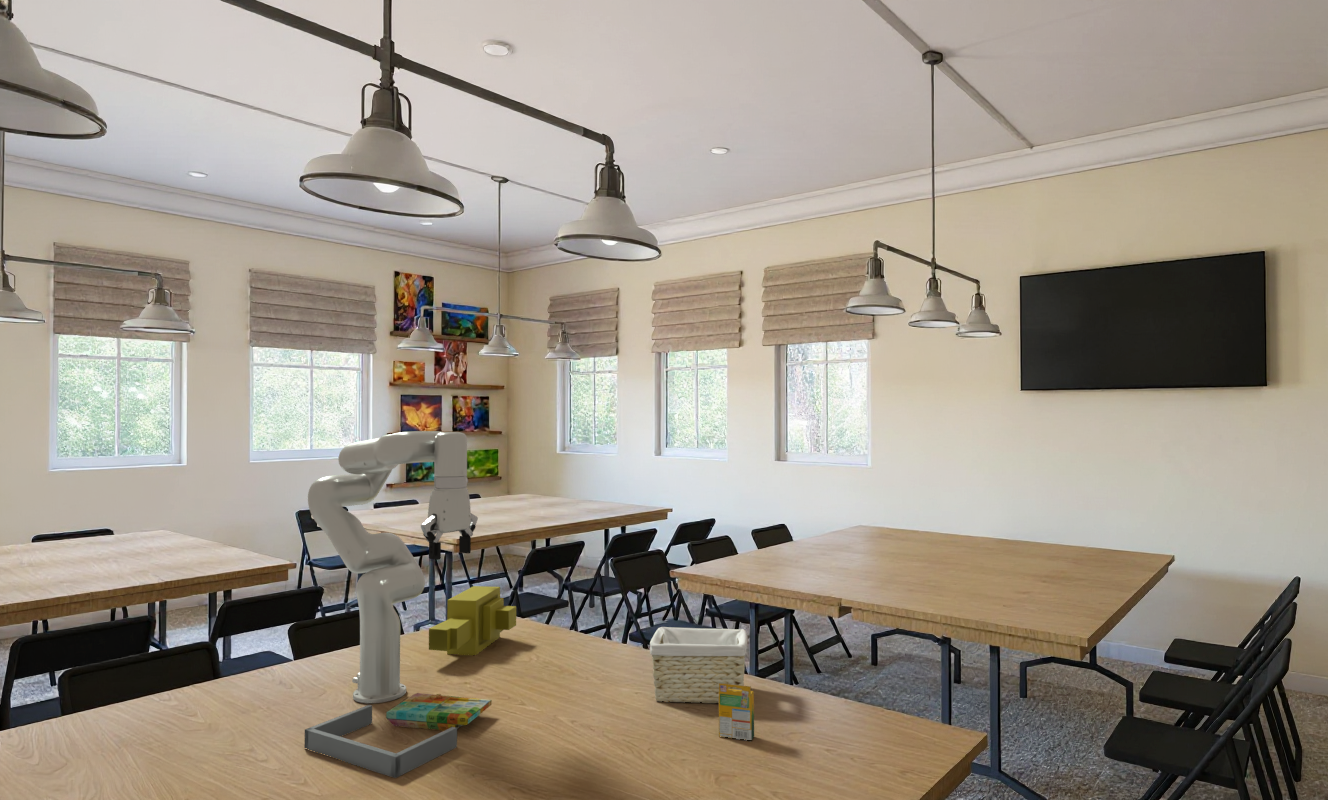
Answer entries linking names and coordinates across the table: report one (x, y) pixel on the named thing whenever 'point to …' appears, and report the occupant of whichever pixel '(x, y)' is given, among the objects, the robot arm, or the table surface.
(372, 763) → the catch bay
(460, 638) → the toy blocks
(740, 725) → the crayon box
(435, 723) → the puzzle game
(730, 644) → the storage basket
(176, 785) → the table surface
